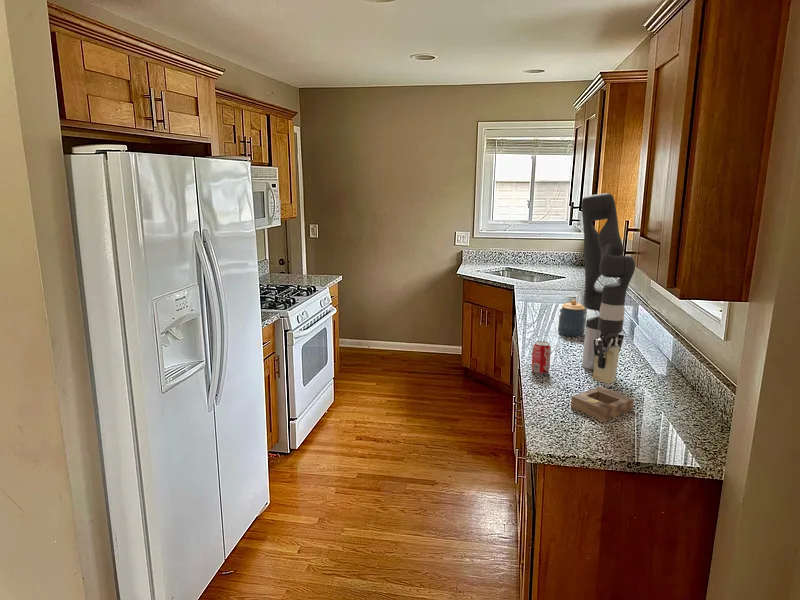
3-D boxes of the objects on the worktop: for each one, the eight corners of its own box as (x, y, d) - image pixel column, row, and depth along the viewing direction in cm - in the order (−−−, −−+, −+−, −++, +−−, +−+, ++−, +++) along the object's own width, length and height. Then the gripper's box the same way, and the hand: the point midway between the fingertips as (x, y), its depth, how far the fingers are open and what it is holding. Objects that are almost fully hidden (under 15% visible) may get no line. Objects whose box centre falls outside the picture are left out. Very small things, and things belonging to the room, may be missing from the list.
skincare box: (592, 379, 179) (595, 344, 177) (598, 376, 182) (601, 341, 180) (610, 384, 175) (614, 348, 172) (616, 381, 178) (620, 346, 175)
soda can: (549, 369, 218) (551, 341, 215) (548, 375, 211) (551, 346, 208) (531, 367, 219) (533, 339, 217) (530, 373, 213) (532, 344, 210)
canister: (579, 339, 263) (582, 304, 259) (553, 334, 270) (556, 300, 266) (587, 333, 273) (591, 299, 269) (563, 329, 280) (566, 296, 277)
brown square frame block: (598, 397, 190) (599, 386, 189) (632, 409, 180) (634, 398, 179) (570, 407, 181) (571, 395, 180) (605, 421, 171) (606, 409, 170)
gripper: (613, 311, 181) (608, 359, 185) (588, 317, 173) (582, 367, 176) (634, 316, 175) (628, 366, 179) (608, 322, 167) (603, 373, 170)
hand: (605, 366), depth 177 cm, fingers closed on skincare box, 4 cm apart
